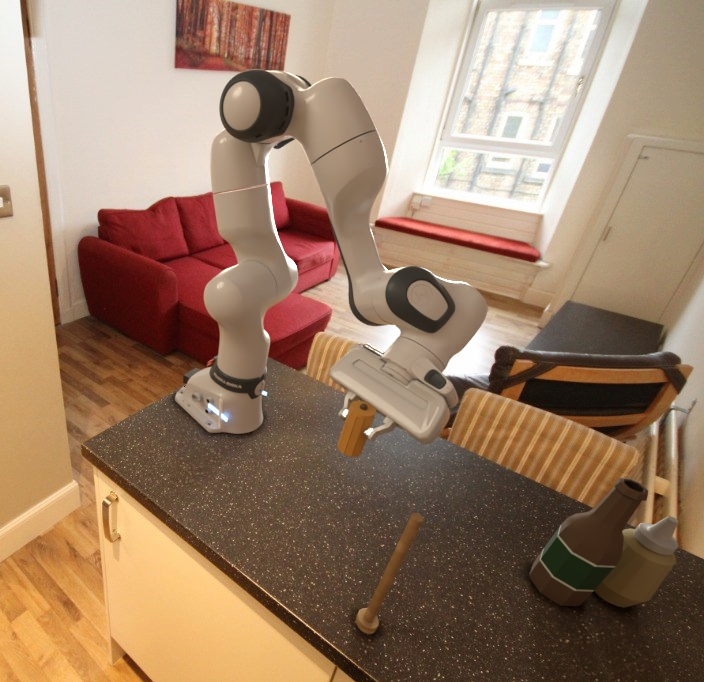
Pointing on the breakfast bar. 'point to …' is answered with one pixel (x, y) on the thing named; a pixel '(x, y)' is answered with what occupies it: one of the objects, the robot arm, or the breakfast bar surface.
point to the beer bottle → (586, 546)
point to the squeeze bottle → (641, 564)
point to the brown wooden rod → (388, 576)
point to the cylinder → (356, 428)
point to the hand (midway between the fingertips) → (354, 428)
